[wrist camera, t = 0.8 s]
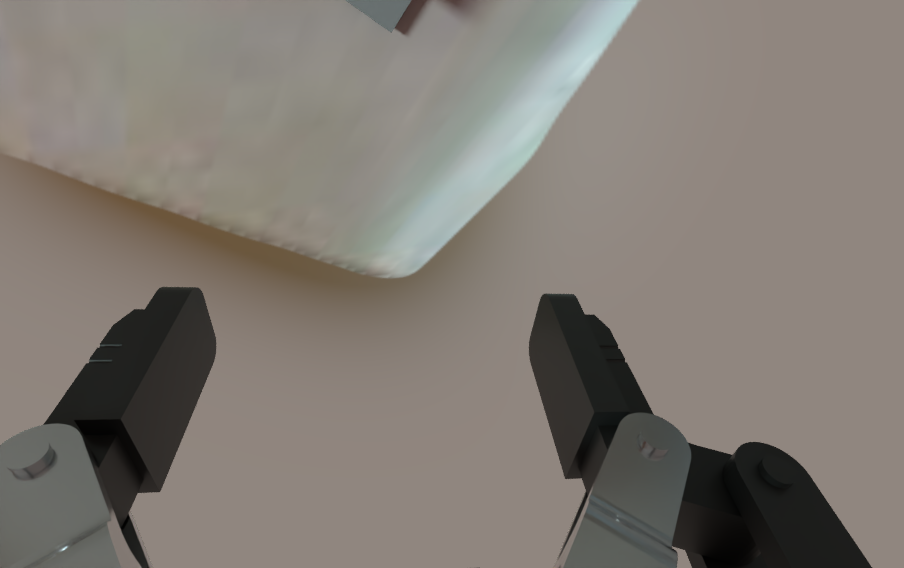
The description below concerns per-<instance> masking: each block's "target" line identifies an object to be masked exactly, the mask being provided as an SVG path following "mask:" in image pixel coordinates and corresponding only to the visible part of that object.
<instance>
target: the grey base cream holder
mask: <svg viewBox="0 0 904 568" xmlns="http://www.w3.org/2000/svg"><path fill="white" fill-rule="evenodd" d="M346 1H347V2H349V3H350V4H351V5H353V6H354V7H356V8H357V9H359V10H360V11H361V12H363V13H364V14H366V15H367V16H368V17H370V18H371V19H373V20H374V21H375V22H377V23H378V24H380V25H381V26H383V27H384V28H385V29H387V30H388V31H390V32H391V33H392V31H393V29H394V28H395V26H396V24H397V23H398V21H399V20H400V18H401V16H402V15H403V13H404V11H405V10H406V8H407V7H408V5H409V3H410V2H411V0H346Z"/></svg>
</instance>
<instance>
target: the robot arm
mask: <svg viewBox="0 0 904 568" xmlns="http://www.w3.org/2000/svg"><path fill="white" fill-rule="evenodd" d="M215 354H216V337H215V333H214V330H213V326H212V323H211V320H210V316H209V313H208V310H207V306H206V303H205V299H204V296H203V293H202V291H201V290H200V289H199V288H195V287H194V288H193V287H189V288H188V287H161V288H159V289H158V290H157V292H156V293H155V295H154V296H153V298H152V299H151V301H150V302H149V304H148V305H147V307H146V309H145V310H143V309H141V310H140V309H134V310H133V311H132V312H130V313H129V314H128V315H126V316H125V317H124V318H122V319H121V320H120V321H118V322H117V323H115V324H114V325H113V326H112V327H111V329H110V330H109V332H108V333H107V335H106V336H105V338H104V339H103V340H102V342H101V343H100V348H97V349H96V351H95V352H94V353H93V355H92V356H91V358H90V360H89V363H87V364H86V365H85V366H84V368H83V369H82V371H81V372H80V373H79V375H78V376H77V378H76V379H75V380H74V382H73V383H72V385H71V386H70V388H69V389H68V390H67V392H66V393H65V395H64V396H63V398H62V399H61V401H60V402H59V404H58V405H57V406H56V408H55V409H54V411H53V412H52V413H51V415H50V416H49V418H48V419H47V421H46V422H45V423H44V424H43V425H41V426H37V427H34V428H31V429H28V430H25V431H23V432H21V433H19V434H17V435H15V436H13V437H11V438H10V439H8V440H6V441H5V442H4V443H2V444H1V445H0V568H153V566H152V564H151V561H150V558H149V556H148V554H147V551H146V548H145V546H144V543H143V541H142V538H141V536H140V533H139V530H138V528H137V525H136V523H135V520H134V518H133V515H132V513H131V512H130V508H131V507H132V504H133V502H134V500H135V498H136V495H137V493H147V492H160V491H161V488H162V486H163V484H164V481H165V479H166V476H167V474H168V472H169V469H170V467H171V464H172V462H173V459H174V457H175V455H176V452H177V450H178V447H179V445H180V442H181V440H182V438H183V435H184V433H185V430H186V428H187V426H188V423H189V420H190V418H191V416H192V413H193V411H194V408H195V406H196V404H197V401H198V399H199V397H200V394H201V392H202V389H203V387H204V384H205V382H206V380H207V377H208V375H209V372H210V370H211V368H212V365H213V362H214V359H215ZM529 356H530V362H531V366H532V369H533V372H534V376H535V379H536V382H537V386H538V389H539V392H540V396H541V399H542V403H543V406H544V409H545V413H546V416H547V419H548V423H549V426H550V429H551V432H552V436H553V439H554V443H555V446H556V449H557V453H558V456H559V459H560V463H561V466H562V469H563V473H564V476H565V479H573V478H582V480H583V483H584V486H585V489H586V492H585V494H584V496H583V498H582V500H581V503H580V505H579V507H578V510H577V512H576V514H575V517H574V519H573V522H572V524H571V527H570V529H569V531H568V534H567V536H566V538H565V541H564V543H563V545H562V548H561V550H560V553H559V555H558V557H557V560H556V562H555V565H554V567H553V568H677V561H678V557H677V556H678V555H677V552H676V551H675V550H674V549H672V546H673V547H677V548H680V549H683V550H685V551H686V553H687V556H688V558H689V561H690V563H691V566H692V568H872V567H871V566H870V564H869V563H868V561H867V559H866V558H865V557H864V555H863V554H862V552H861V551H860V549H859V548H858V546H857V545H856V543H855V542H854V540H853V539H852V537H851V536H850V534H849V533H848V532H847V530H846V529H845V527H844V526H843V524H842V523H841V521H840V520H839V518H838V517H837V515H836V514H835V512H834V511H833V509H832V508H831V506H830V505H829V503H828V502H827V501H826V499H825V498H824V496H823V495H822V493H821V492H820V490H819V489H818V487H817V486H816V484H815V483H814V481H813V480H812V478H811V477H810V475H809V474H808V473H807V471H806V470H805V469H804V468H803V467H802V466H801V465H800V464H799V463H798V462H797V461H796V460H795V459H793V458H792V457H791V456H790V455H788V454H787V453H785V452H783V451H782V450H780V449H778V448H776V447H774V446H771V445H768V444H764V443H760V442H749V443H745V444H743V445H741V446H740V447H739V448H738V449H737V450H736V452H735V453H734V454H733V455H730V454H727V453H723V452H719V451H715V450H712V449H708V448H704V447H700V446H697V445H694V444H690V443H688V442H687V440H686V439H685V437H684V436H683V434H682V433H681V432H680V431H679V430H678V429H677V428H676V427H675V426H674V425H672V424H671V423H669V422H668V421H666V420H665V419H663V418H660V417H658V416H656V415H654V414H653V413H652V410H651V408H650V407H649V405H648V403H647V401H646V399H645V397H644V395H643V393H642V391H641V389H640V387H639V385H638V383H637V382H636V379H635V377H634V375H633V374H632V372H631V370H630V368H629V366H628V364H627V363H625V358H624V356H623V354H622V352H621V350H620V349H618V344H617V342H616V341H615V339H614V337H613V335H612V333H611V331H610V329H609V328H608V327H607V326H606V325H605V324H604V323H602V321H600V320H599V319H598V318H597V317H596V316H595V315H585V314H584V312H583V310H582V308H581V306H580V304H579V302H578V300H577V298H576V296H575V295H574V294H544V295H542V297H541V299H540V302H539V306H538V310H537V313H536V317H535V321H534V325H533V328H532V332H531V336H530V341H529Z"/></svg>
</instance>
